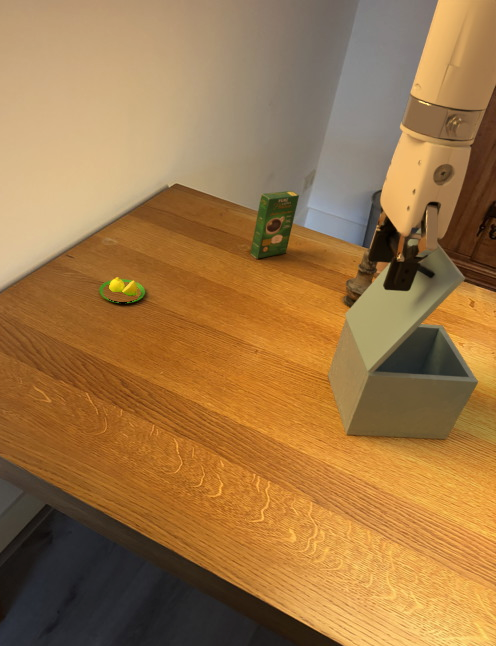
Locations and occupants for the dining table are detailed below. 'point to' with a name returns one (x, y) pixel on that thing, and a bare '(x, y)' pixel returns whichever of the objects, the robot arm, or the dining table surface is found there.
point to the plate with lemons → (123, 288)
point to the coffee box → (274, 223)
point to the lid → (400, 304)
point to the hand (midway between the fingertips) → (387, 273)
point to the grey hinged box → (402, 386)
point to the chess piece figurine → (360, 280)
